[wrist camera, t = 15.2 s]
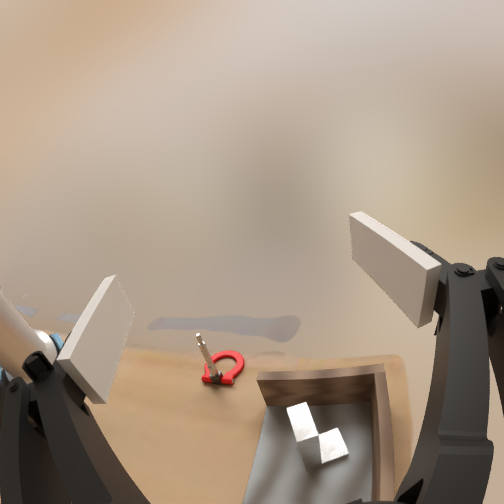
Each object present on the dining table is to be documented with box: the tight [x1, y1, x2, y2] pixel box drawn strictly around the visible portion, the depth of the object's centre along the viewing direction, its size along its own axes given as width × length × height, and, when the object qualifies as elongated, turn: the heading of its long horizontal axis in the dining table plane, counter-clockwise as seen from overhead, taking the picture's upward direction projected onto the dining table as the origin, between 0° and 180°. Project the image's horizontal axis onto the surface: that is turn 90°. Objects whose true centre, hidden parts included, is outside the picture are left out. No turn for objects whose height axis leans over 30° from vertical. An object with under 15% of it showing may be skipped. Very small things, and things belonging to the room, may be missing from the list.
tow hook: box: [196, 333, 244, 384], centre depth 51 cm, size 8×13×9 cm
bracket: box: [287, 402, 349, 470], centre depth 28 cm, size 6×5×12 cm
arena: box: [243, 363, 394, 504], centre depth 29 cm, size 19×22×9 cm
